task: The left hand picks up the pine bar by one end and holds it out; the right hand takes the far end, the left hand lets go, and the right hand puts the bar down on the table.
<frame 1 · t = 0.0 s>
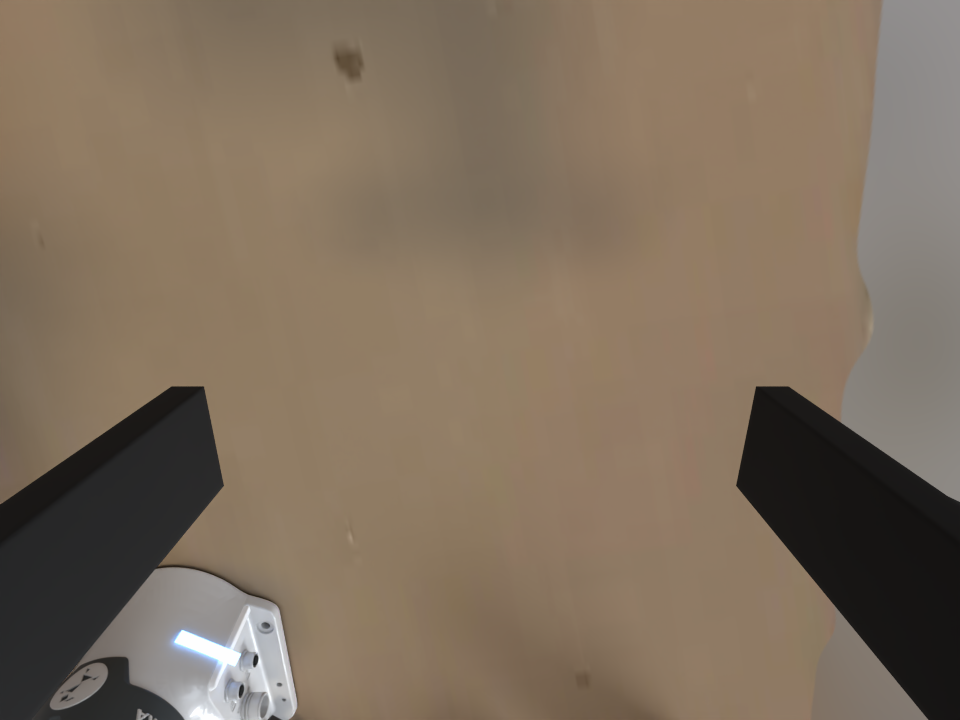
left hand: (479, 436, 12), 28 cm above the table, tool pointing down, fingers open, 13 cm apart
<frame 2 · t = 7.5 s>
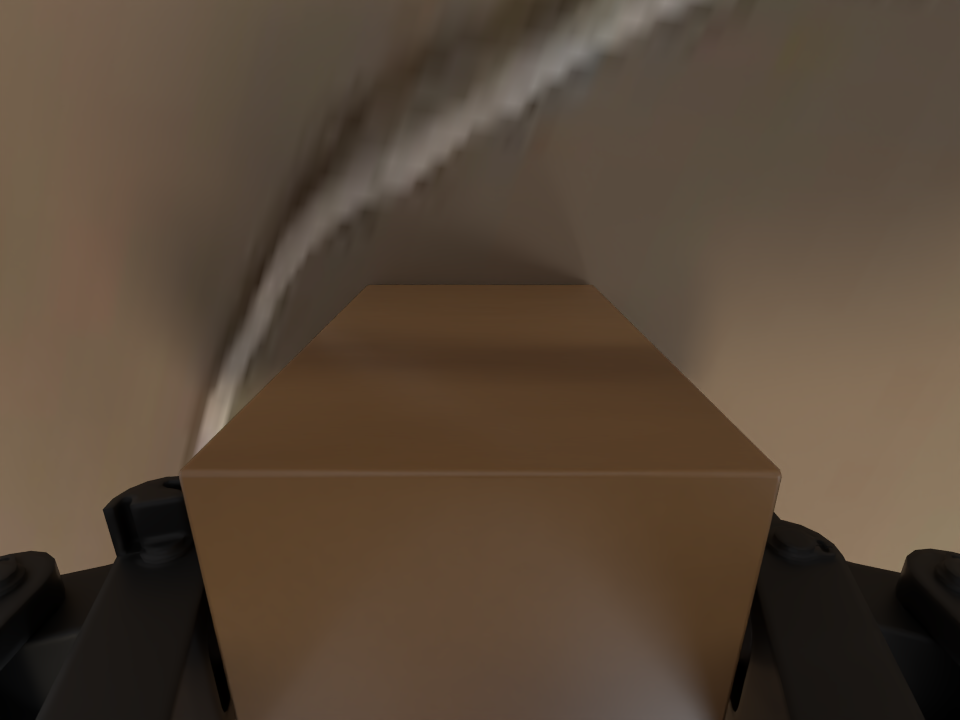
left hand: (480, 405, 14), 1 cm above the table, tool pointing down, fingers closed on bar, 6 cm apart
bar: (480, 644, 18), on the table, touching left hand
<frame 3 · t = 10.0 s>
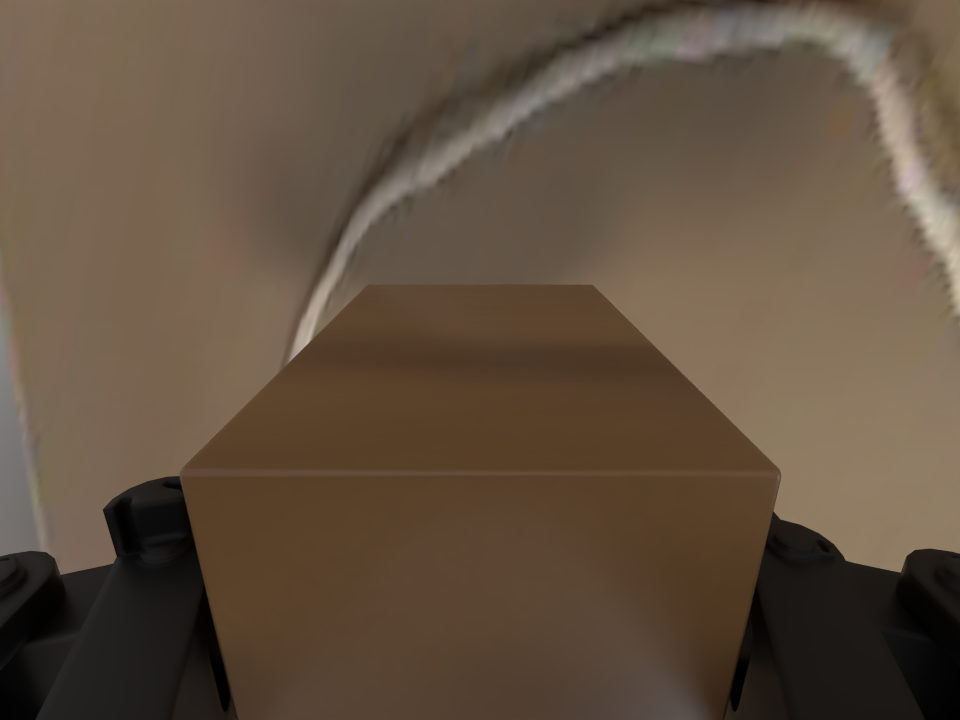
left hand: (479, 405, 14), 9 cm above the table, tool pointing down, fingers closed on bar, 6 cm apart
bar: (480, 644, 18), point 8 cm above the table, touching left hand
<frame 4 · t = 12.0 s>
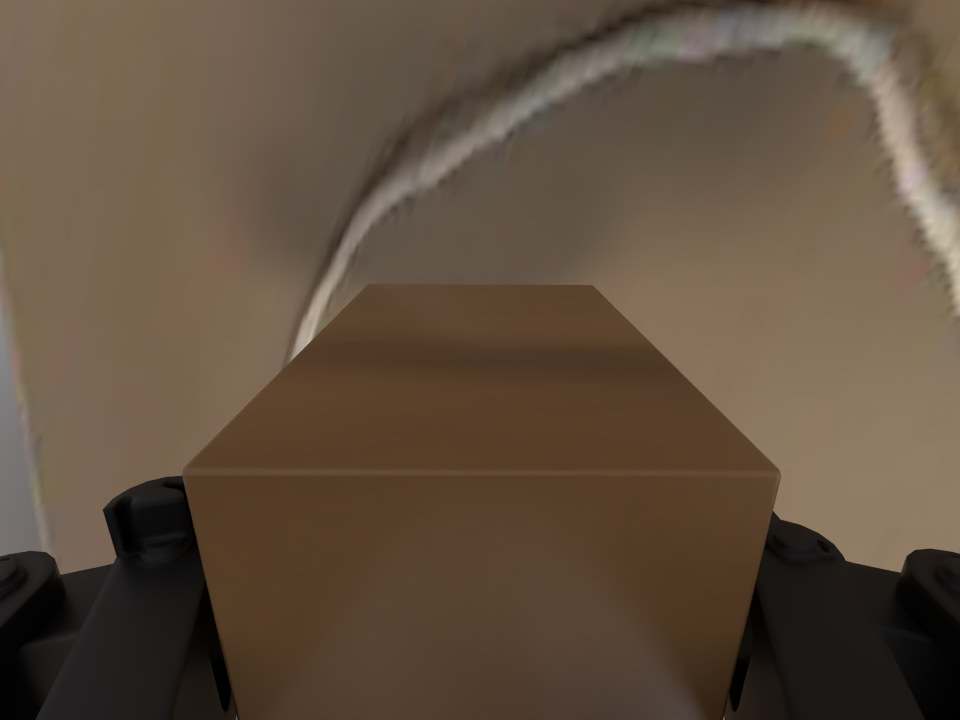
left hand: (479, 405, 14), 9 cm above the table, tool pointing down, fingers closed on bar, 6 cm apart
bar: (478, 643, 18), point 8 cm above the table, touching left hand, right hand
when the left hand's fingers open (9 cm above the table, at t = 13.0 s): bar stays where it is, held by the right hand.
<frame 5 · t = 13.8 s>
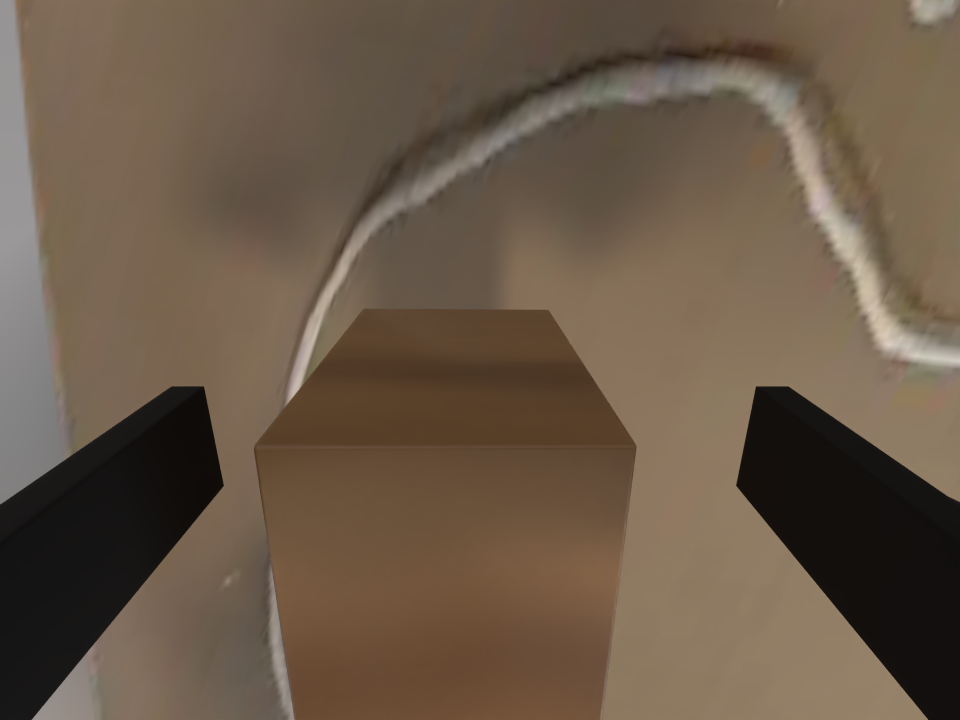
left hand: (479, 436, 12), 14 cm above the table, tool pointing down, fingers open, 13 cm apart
bar: (457, 616, 21), point 10 cm above the table, touching right hand
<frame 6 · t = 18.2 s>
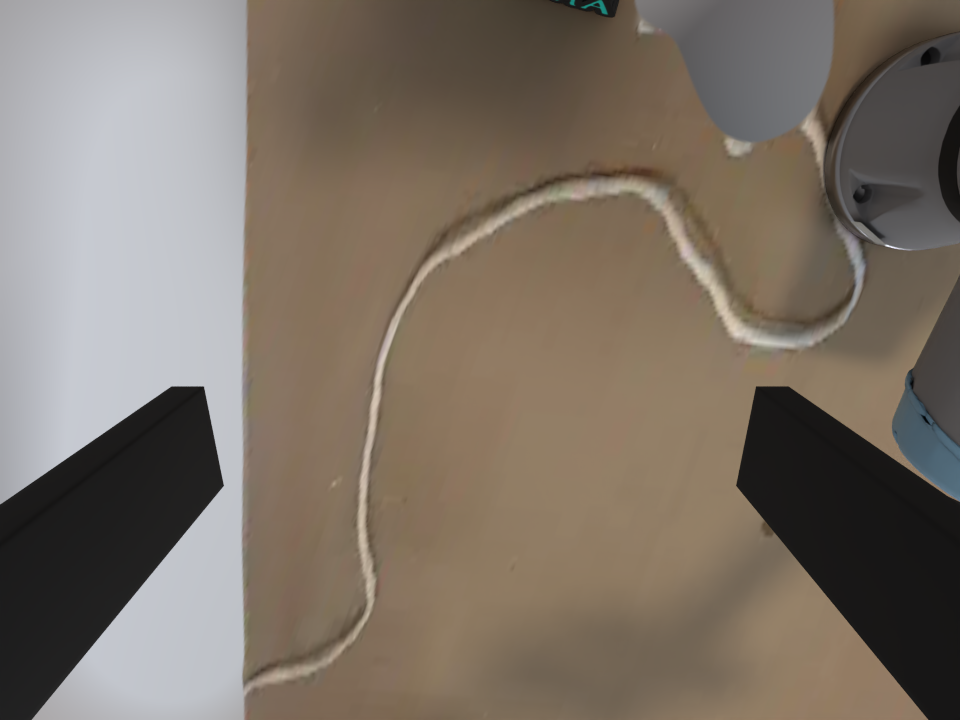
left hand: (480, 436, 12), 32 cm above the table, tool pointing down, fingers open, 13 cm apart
when the right hand's fingers open (5 cm above the table, at t = 24.8 s): bar stays where it is, on the table.
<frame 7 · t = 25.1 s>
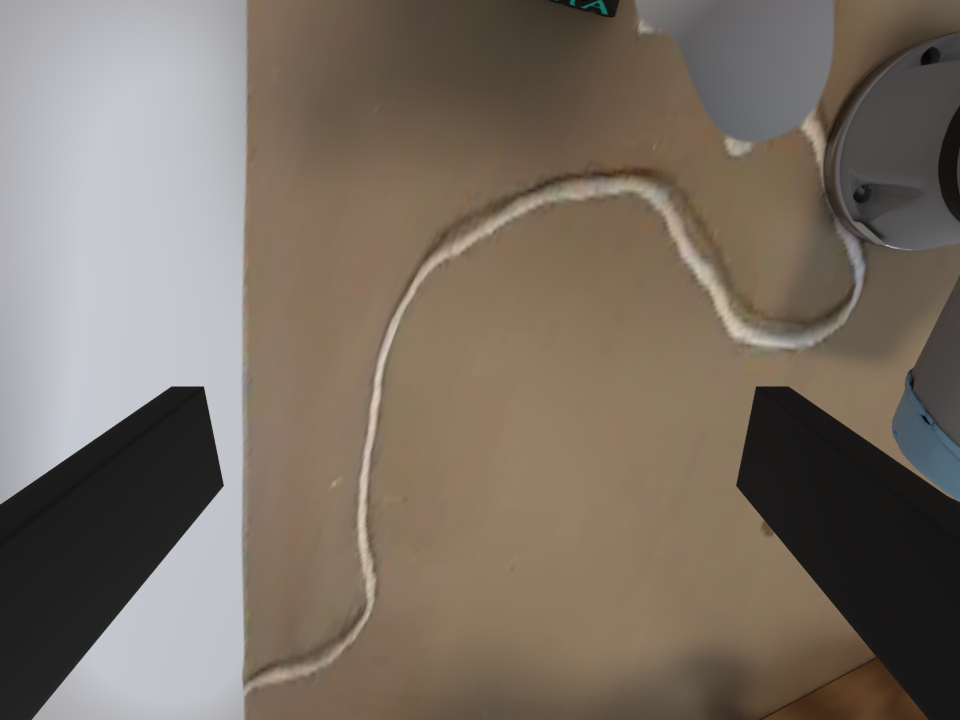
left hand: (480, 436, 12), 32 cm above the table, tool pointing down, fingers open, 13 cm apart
bar: (820, 707, 62), on the table
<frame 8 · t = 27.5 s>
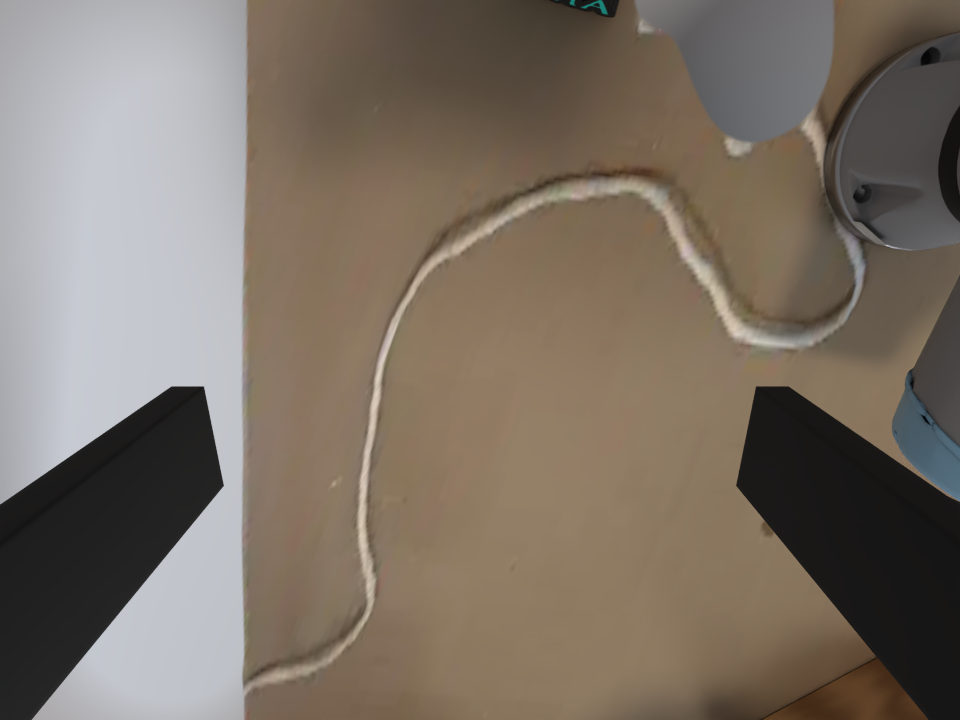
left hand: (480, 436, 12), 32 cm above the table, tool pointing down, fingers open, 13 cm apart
bar: (820, 708, 62), on the table
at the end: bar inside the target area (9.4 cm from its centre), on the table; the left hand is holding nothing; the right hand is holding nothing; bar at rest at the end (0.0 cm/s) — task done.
